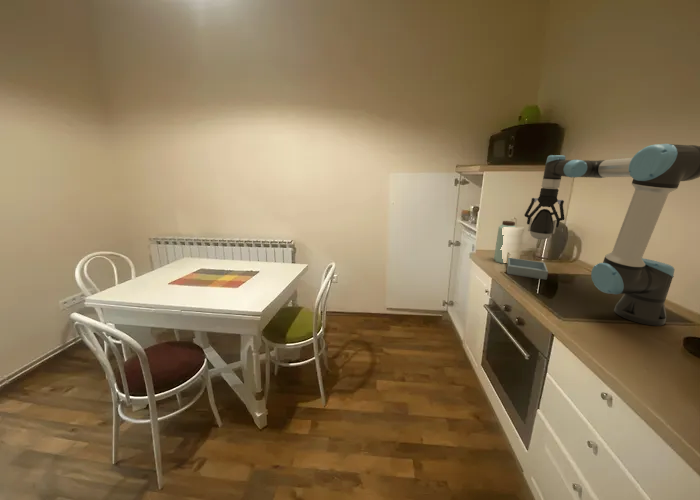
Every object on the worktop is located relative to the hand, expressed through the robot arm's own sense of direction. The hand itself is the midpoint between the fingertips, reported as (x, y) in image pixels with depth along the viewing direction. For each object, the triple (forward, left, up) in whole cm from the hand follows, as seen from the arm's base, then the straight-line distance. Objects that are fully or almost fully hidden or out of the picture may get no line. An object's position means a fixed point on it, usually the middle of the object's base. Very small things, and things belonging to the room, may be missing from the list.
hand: (540, 232), depth 160 cm
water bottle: (+24, +15, -25) cm, 37 cm away
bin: (+9, +3, -25) cm, 26 cm away
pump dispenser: (0, 0, -3) cm, 3 cm away
